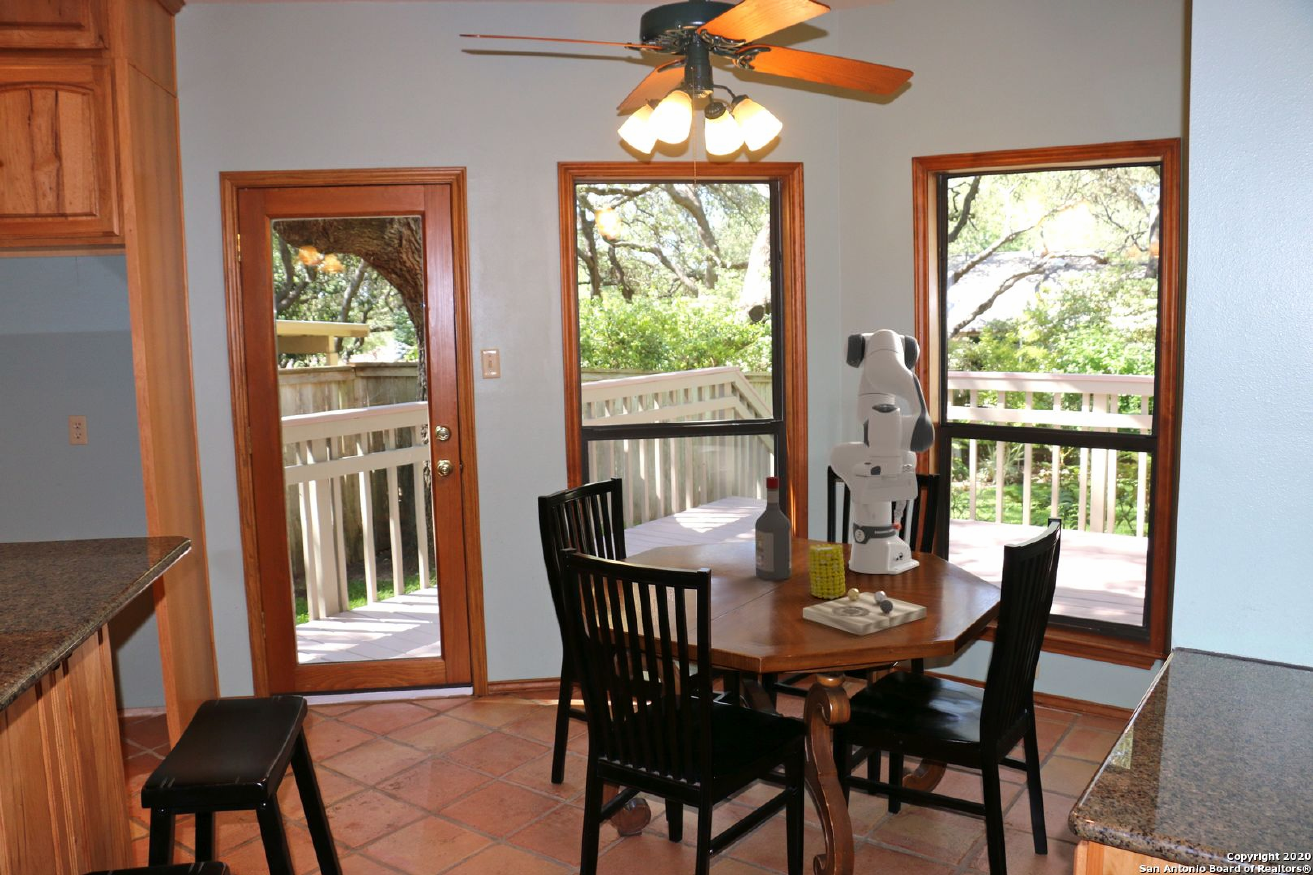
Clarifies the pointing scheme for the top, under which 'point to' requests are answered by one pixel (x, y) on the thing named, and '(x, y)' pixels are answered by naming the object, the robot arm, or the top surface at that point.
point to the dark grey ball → (886, 606)
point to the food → (827, 571)
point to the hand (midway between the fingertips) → (884, 518)
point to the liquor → (773, 538)
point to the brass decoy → (853, 594)
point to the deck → (863, 614)
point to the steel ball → (880, 597)
